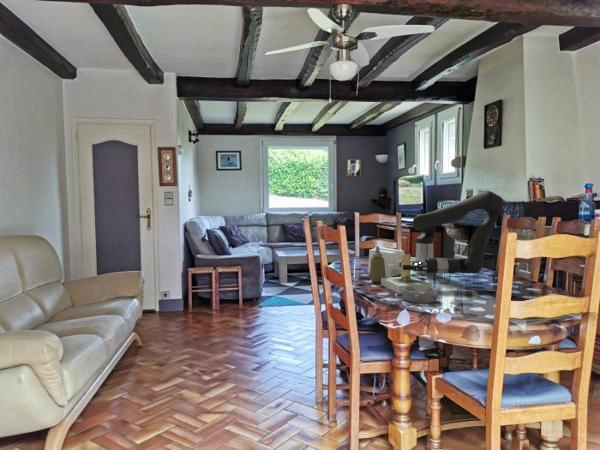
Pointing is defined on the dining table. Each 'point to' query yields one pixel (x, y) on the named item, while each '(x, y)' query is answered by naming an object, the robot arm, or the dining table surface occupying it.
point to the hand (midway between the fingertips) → (401, 266)
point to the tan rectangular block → (405, 273)
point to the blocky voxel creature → (388, 260)
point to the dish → (420, 295)
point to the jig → (404, 284)
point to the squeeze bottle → (377, 266)
